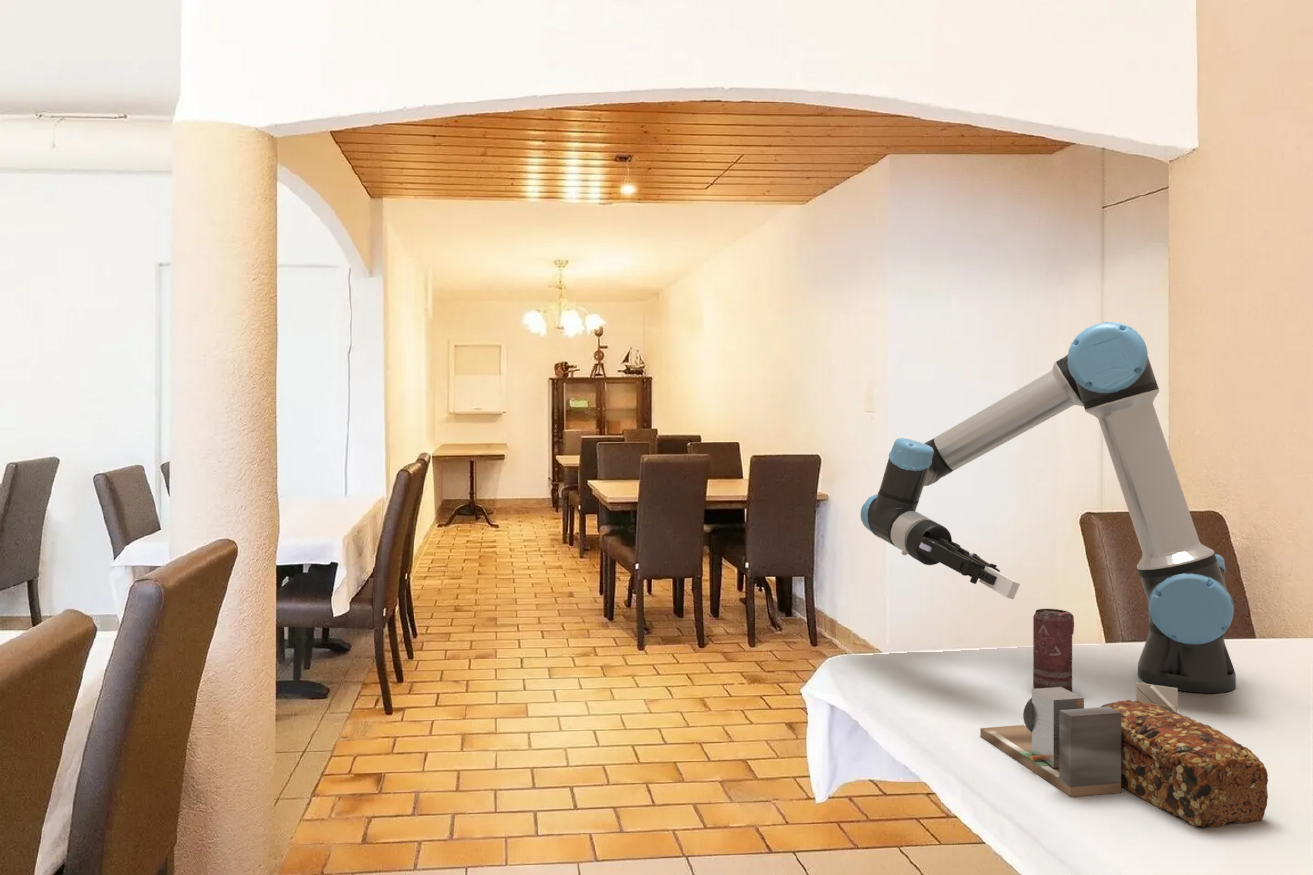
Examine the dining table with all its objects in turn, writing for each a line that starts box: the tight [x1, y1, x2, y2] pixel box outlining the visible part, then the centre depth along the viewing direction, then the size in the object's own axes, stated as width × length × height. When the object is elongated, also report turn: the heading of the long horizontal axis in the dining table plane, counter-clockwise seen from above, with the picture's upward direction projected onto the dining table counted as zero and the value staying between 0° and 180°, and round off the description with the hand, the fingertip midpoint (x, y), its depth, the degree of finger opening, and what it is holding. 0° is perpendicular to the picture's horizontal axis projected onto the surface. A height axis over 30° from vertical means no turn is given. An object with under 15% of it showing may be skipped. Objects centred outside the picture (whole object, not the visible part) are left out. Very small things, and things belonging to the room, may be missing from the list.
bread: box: [1100, 699, 1269, 828], centre depth 115 cm, size 19×11×10 cm, turn 12°
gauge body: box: [979, 706, 1122, 798], centre depth 126 cm, size 22×7×10 cm, turn 10°
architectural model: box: [1135, 681, 1180, 714], centre depth 137 cm, size 3×7×7 cm, turn 56°
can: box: [1032, 608, 1075, 692], centre depth 157 cm, size 6×6×14 cm
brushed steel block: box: [1022, 687, 1085, 768], centre depth 124 cm, size 6×7×9 cm
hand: (1013, 590), depth 144 cm, fingers closed
